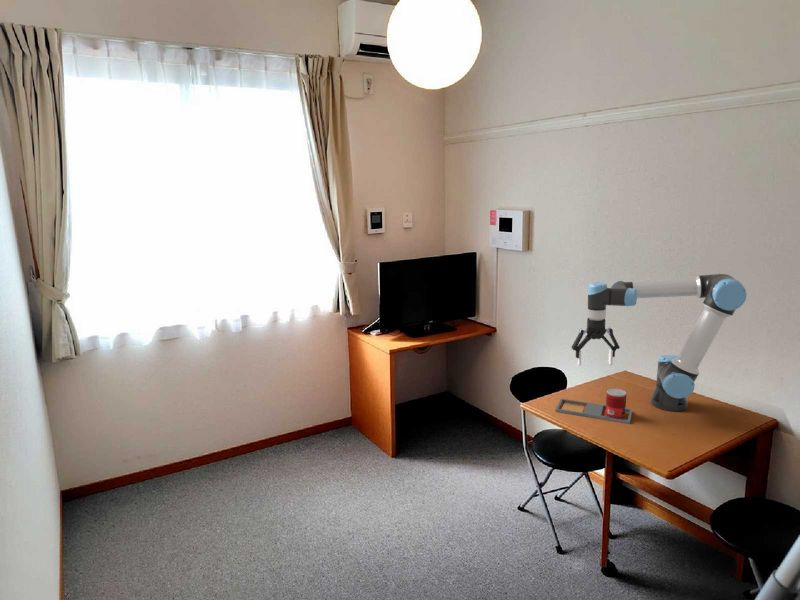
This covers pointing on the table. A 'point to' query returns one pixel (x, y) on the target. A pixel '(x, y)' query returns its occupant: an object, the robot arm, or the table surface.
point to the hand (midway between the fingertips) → (594, 364)
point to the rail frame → (588, 410)
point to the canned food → (615, 403)
